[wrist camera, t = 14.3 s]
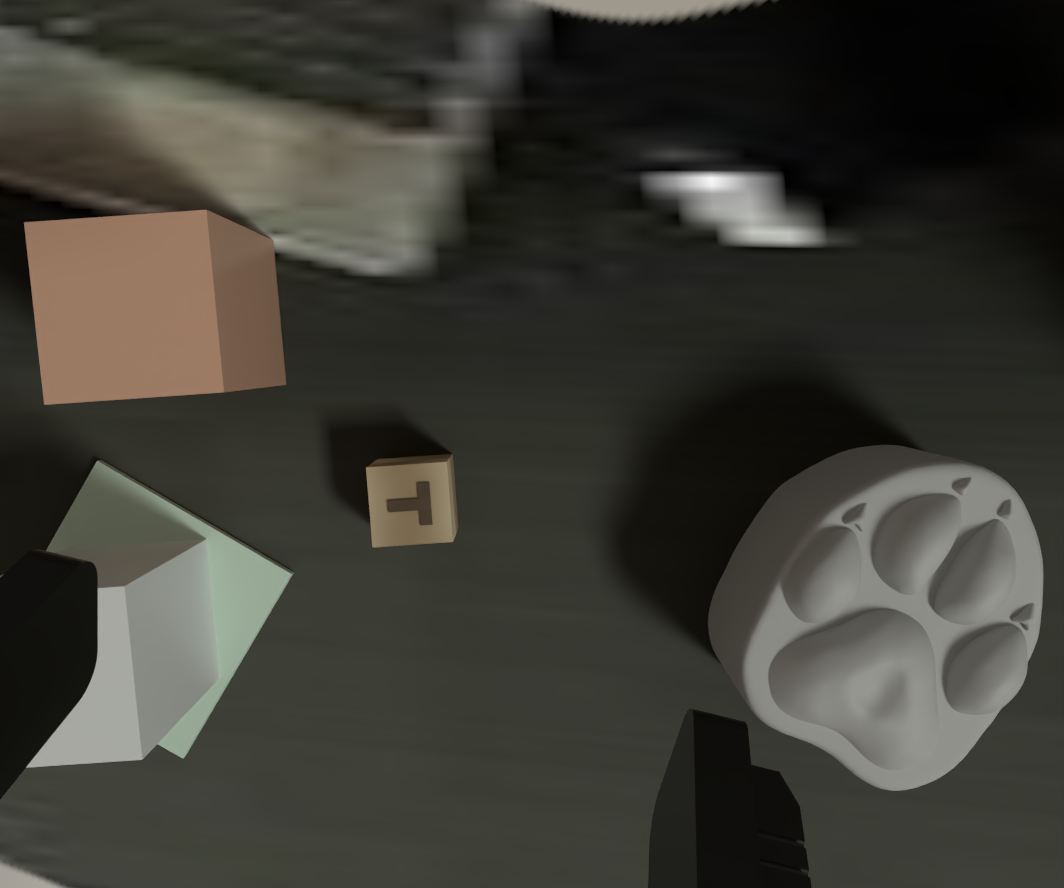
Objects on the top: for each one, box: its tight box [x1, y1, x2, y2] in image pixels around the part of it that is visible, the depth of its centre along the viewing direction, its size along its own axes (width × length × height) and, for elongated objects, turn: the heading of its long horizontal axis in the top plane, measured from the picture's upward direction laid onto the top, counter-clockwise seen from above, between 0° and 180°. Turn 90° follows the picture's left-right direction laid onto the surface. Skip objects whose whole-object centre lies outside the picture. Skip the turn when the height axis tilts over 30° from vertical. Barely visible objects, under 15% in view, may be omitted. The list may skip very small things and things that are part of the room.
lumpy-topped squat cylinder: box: [708, 445, 1043, 791], centre depth 42 cm, size 10×13×9 cm
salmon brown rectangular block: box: [24, 210, 286, 405], centre depth 40 cm, size 6×6×9 cm
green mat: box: [46, 460, 294, 758], centre depth 46 cm, size 10×10×1 cm
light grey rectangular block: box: [0, 539, 220, 767], centre depth 41 cm, size 6×6×9 cm
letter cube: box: [366, 454, 458, 547], centre depth 44 cm, size 3×3×4 cm
